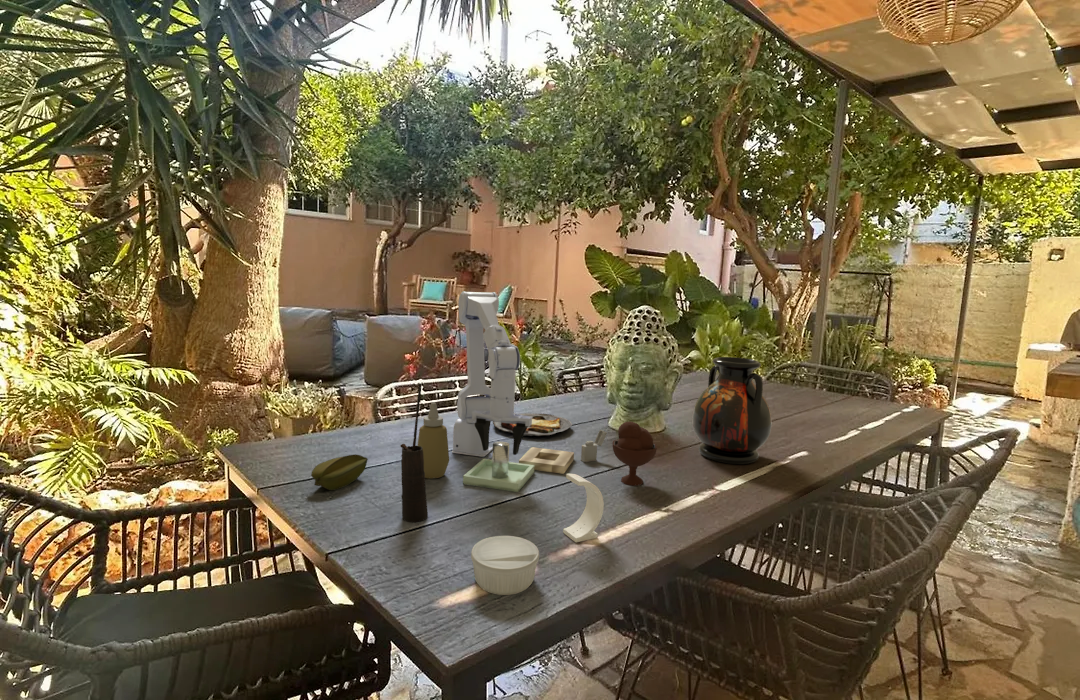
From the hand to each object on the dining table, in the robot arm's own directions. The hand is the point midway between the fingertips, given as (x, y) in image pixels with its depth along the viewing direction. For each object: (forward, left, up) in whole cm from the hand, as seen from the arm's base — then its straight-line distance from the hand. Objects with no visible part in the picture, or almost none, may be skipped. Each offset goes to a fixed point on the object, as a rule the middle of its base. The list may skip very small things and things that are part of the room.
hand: (500, 451), depth 142 cm
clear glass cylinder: (0, 0, -6) cm, 6 cm away
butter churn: (-10, -27, -7) cm, 30 cm away
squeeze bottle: (-16, -4, -7) cm, 18 cm away
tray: (0, 0, -7) cm, 7 cm away
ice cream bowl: (+31, +10, -7) cm, 33 cm away
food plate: (-5, +46, -7) cm, 47 cm away
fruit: (-33, -17, -7) cm, 37 cm away
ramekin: (+16, -44, -7) cm, 47 cm away
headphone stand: (+25, -23, -7) cm, 35 cm away
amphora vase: (+55, +41, -7) cm, 69 cm away
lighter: (+19, +23, -7) cm, 31 cm away
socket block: (+8, +15, -7) cm, 18 cm away
